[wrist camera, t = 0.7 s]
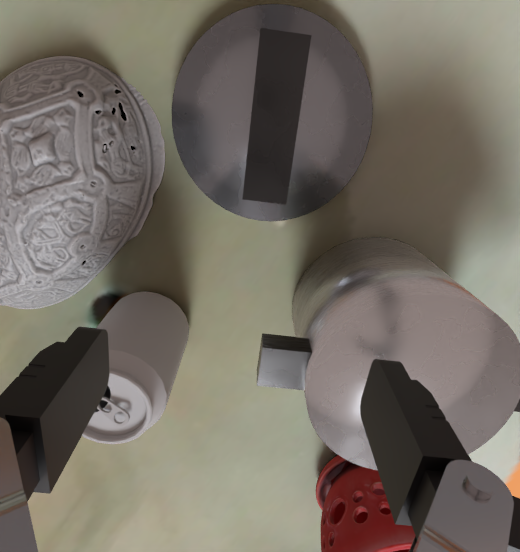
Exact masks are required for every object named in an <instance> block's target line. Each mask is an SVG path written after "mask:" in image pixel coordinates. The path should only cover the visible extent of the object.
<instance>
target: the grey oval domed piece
mask: <svg viewBox="0 0 520 552" xmlns="http://www.w3.org/2000/svg"><path fill="white" fill-rule="evenodd" d="M114 84H115V85H117V86H118V87H116V86H115V85H114ZM116 89H118V90H120V91H121V93H118V94H116V93H115V90H116ZM78 91H80V92H82V94H83V97H79V96H78V94H77V92H78ZM140 94H141V93H140V92H138V91H136V88H135V87H133V86H132V85H131V84H128V83H127V82H126V81H125V80H124V79H123V78H120V77H119V76H117V75H116V74H114V73H113V72H111V71H110V70H108V69H107V68H105V67H103V66H102V65H100V64H97V63H95V62H93V61H91V60H88V59H84V58H80V57H72V56H55V57H48V58H43V59H40V60H36V61H34V62H31V63H28V64H26V65H24V66H22V67H20V68H18V69H17V70H15V71H13V72H12V73H10V74H9V75H8V76H7V77H5V78H4V79H3V80H2V81H1V82H0V305H7V306H10V307H14V308H20V309H35V308H43V307H47V306H50V305H53V304H56V303H59V302H61V301H63V300H65V299H67V298H69V297H71V296H72V295H74V294H75V293H77V292H78V291H79V290H81V289H82V288H83V287H85V286H86V285H87V284H88V283H89V282H90V281H91V280H92V279H93V278H94V277H96V276H97V274H98V273H99V272H100V271H102V269H103V268H104V267H105V266H106V265H107V264H108V263H109V262H110V261H111V259H112V258H113V257H114V256H115V255H116V254H117V252H118V251H119V250H120V249H121V248H122V247H123V246H124V244H125V243H126V242H128V241H129V240H130V239H132V238H133V237H136V236H137V235H138V234H139V231H140V230H141V229H142V227H143V224H144V222H145V220H146V218H147V216H148V213H149V211H150V209H151V207H152V205H153V201H152V200H153V198H152V197H153V195H154V193H155V192H156V190H157V188H158V187H159V185H160V183H161V180H162V178H163V172H164V168H165V167H164V166H165V150H164V139H163V137H162V135H161V127H160V124H159V122H158V119H157V117H156V115H155V113H154V111H153V109H152V108H151V106H150V105H149V104H148V103H147V100H145V99H143V96H142V95H140ZM119 102H120V103H121V104H122V107H123V111H124V112H125V114H126V118H127V120H126V121H124V120H123V119H122V117H121V112H120V109H119V106H118V105H119ZM113 108H115V109H116V112H115V115H113V114H112V110H113ZM97 110H101V111H102V112H101V113H100V114H99V115H98V114H96V113H95V111H97ZM99 112H100V111H99ZM138 140H139V141H138ZM111 141H113V142H112V143H111V145H112V146H110V145H109V143H110V142H111ZM103 144H107V149H108V150H106V145H104V148H103ZM131 146H134V147H135V148H136V149H134V150H132V149H131ZM130 149H131V150H130ZM102 150H104V152H105V153H103V152H102ZM133 152H135V153H133ZM141 195H142V196H141ZM140 196H141V197H140ZM82 245H84V246H83V247H81V246H82ZM96 254H98V255H96ZM85 260H86V262H85V263H84V264H83V265H82V263H83V261H85Z"/></svg>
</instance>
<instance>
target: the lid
mask: <svg viewBox="0 0 520 552" xmlns="http://www.w3.org/2000/svg"><path fill="white" fill-rule="evenodd" d="M372 110H373V107H372V96H371V90H370V85H369V81H368V77H367V75H366V72H365V69H364V66H363V64H362V62H361V60H360V58H359V56H358V54H357V52H356V51H355V50H354V48H353V47H352V45H351V44H350V42H349V41H348V40H347V39H346V38H345V37H344V36H343V34H342V33H341V32H340V31H339V30H338V29H337V28H335V27H334V26H333V25H332V24H330V23H329V22H328V21H326V20H325V19H323V18H321V17H320V16H318V15H316V14H315V13H312V12H310V11H307V10H305V9H302V8H298V7H294V6H290V5H281V4H265V5H257V6H253V7H249V8H244V9H242V10H239V11H237V12H235V13H232V14H230V15H228V16H227V17H225V18H223V19H222V20H220V21H218V22H217V23H216V24H215V25H213V26H212V27H211V28H210V29H209V30H207V31H206V32H205V33H204V34H203V35H202V37H201V38H200V39H199V40H198V41H197V42H196V43H195V45H194V46H193V48H192V49H191V51H190V52H189V54H188V55H187V57H186V59H185V61H184V63H183V65H182V67H181V70H180V72H179V75H178V78H177V81H176V85H175V89H174V94H173V102H172V126H173V133H174V139H175V143H176V146H177V150H178V153H179V155H180V158H181V160H182V162H183V165H184V166H185V168H186V170H187V172H188V174H189V175H190V177H191V178H192V179H193V181H194V182H195V183H196V185H197V186H198V187H199V188H200V189H201V190H202V191H203V192H204V194H205V195H207V196H208V197H209V198H210V199H211V200H213V201H214V202H215V203H216V204H218V205H220V206H221V207H223V208H224V209H226V210H228V211H230V212H232V213H234V214H237V215H240V216H243V217H246V218H249V219H255V220H261V221H280V220H287V219H292V218H297V217H299V216H302V215H305V214H308V213H310V212H312V211H314V210H316V209H318V208H320V207H321V206H323V205H324V204H326V203H327V202H329V201H330V200H331V199H332V198H333V197H335V196H336V195H337V194H338V193H339V192H340V191H341V190H342V189H343V188H344V187H345V186H346V185H347V183H348V182H349V181H350V179H351V178H352V176H353V175H354V174H355V172H356V170H357V168H358V167H359V165H360V163H361V161H362V158H363V156H364V154H365V151H366V148H367V145H368V141H369V138H370V133H371V126H372Z"/></svg>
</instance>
